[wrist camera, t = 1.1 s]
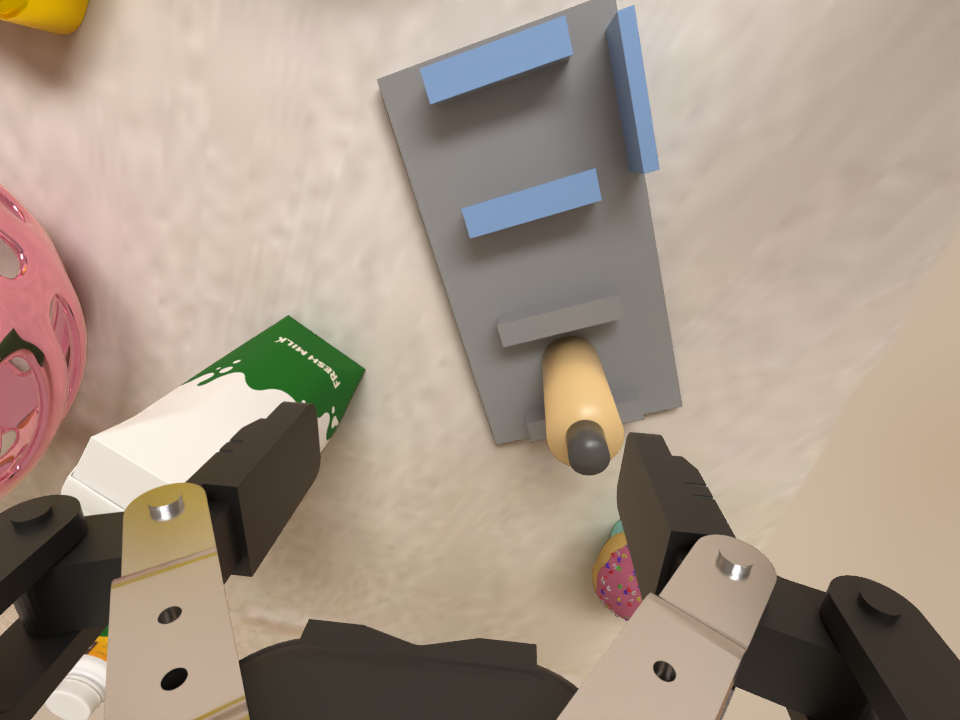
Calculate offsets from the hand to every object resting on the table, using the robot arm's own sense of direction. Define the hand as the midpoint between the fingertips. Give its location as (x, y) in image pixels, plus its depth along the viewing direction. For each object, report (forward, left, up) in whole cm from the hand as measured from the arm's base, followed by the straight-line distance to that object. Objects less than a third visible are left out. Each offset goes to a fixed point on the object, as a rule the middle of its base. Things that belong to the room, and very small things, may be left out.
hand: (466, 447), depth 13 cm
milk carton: (+17, +4, -23) cm, 29 cm away
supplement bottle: (+44, +24, -23) cm, 56 cm away
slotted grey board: (-3, 0, -23) cm, 23 cm away
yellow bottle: (-3, +8, -22) cm, 23 cm away
